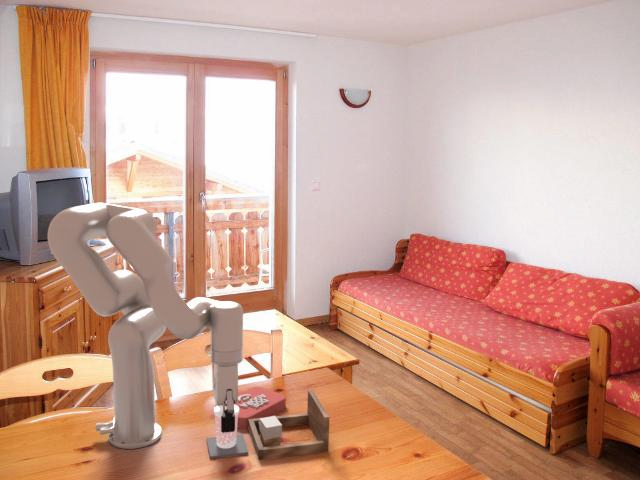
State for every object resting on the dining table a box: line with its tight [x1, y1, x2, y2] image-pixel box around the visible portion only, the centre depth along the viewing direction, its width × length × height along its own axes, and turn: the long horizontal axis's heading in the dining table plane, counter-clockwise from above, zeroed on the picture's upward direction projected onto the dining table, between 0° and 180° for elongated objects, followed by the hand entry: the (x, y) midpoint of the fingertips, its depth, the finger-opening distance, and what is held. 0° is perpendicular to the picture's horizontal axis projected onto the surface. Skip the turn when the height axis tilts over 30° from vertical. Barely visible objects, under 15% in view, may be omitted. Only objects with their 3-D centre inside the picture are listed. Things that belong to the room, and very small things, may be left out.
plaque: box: [214, 386, 287, 429], centre depth 168 cm, size 18×4×15 cm
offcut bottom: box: [259, 433, 281, 447], centre depth 150 cm, size 4×6×3 cm, turn 14°
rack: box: [247, 389, 330, 461], centre depth 151 cm, size 17×16×9 cm
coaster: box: [206, 433, 249, 460], centre depth 148 cm, size 9×9×1 cm
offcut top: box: [258, 415, 283, 439], centre depth 149 cm, size 4×5×3 cm
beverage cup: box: [213, 401, 239, 448], centre depth 146 cm, size 6×6×14 cm
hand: (226, 424), depth 147 cm, fingers closed on beverage cup, 6 cm apart
